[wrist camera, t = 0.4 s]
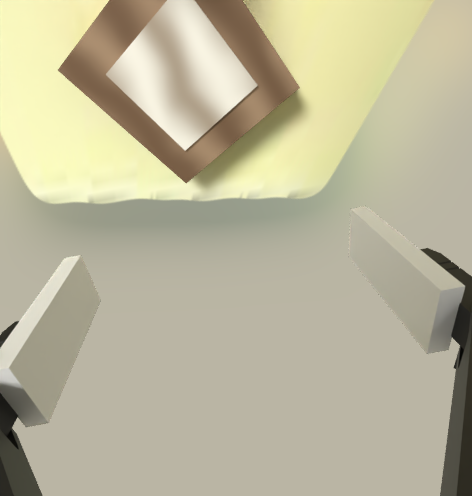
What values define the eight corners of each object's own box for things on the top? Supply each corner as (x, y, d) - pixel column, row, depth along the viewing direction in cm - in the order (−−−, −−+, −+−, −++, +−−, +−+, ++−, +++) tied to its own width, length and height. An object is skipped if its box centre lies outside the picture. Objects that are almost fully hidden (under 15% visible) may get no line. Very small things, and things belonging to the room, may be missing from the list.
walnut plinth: (182, -90, 26) (179, -96, 22) (291, 76, 34) (300, 88, 31) (71, 59, 32) (56, 71, 29) (187, 166, 41) (186, 184, 38)
